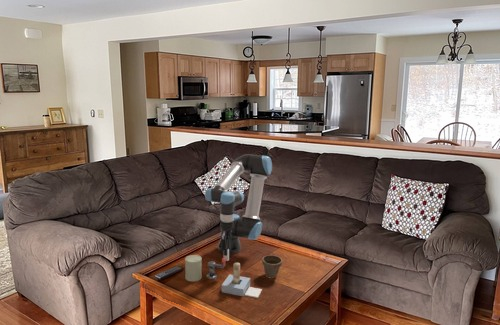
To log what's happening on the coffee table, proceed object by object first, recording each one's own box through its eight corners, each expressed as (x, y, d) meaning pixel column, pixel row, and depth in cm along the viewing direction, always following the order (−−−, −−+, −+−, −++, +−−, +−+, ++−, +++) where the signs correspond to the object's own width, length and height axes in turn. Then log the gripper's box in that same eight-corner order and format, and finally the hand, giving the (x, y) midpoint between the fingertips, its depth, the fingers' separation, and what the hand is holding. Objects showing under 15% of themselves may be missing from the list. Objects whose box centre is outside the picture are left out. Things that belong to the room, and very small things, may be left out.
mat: (249, 287, 200) (249, 286, 200) (261, 290, 198) (261, 289, 198) (244, 295, 193) (244, 294, 193) (257, 298, 191) (257, 297, 191)
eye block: (229, 280, 207) (229, 274, 206) (250, 284, 203) (250, 278, 203) (221, 292, 195) (221, 285, 195) (243, 296, 192) (243, 289, 191)
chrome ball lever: (209, 263, 212) (209, 254, 211) (226, 266, 209) (226, 257, 208) (206, 267, 208) (206, 257, 207) (223, 270, 205) (224, 260, 204)
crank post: (209, 273, 214) (209, 263, 213) (218, 274, 213) (218, 265, 211) (204, 278, 209) (204, 268, 208) (214, 280, 207) (214, 270, 206)
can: (193, 283, 203) (193, 263, 201) (181, 277, 208) (181, 257, 206) (205, 276, 210) (205, 257, 208) (193, 271, 216) (193, 252, 213)
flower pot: (285, 278, 212) (286, 261, 210) (267, 282, 206) (268, 265, 204) (274, 269, 222) (275, 253, 220) (257, 272, 216) (258, 256, 214)
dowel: (234, 286, 202) (234, 262, 199) (240, 287, 201) (241, 263, 198) (231, 289, 198) (232, 265, 195) (238, 290, 197) (238, 266, 194)
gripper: (224, 215, 213) (224, 254, 218) (216, 223, 201) (215, 263, 205) (237, 217, 211) (236, 256, 216) (229, 225, 199) (228, 266, 203)
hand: (226, 259), depth 211 cm, fingers closed
